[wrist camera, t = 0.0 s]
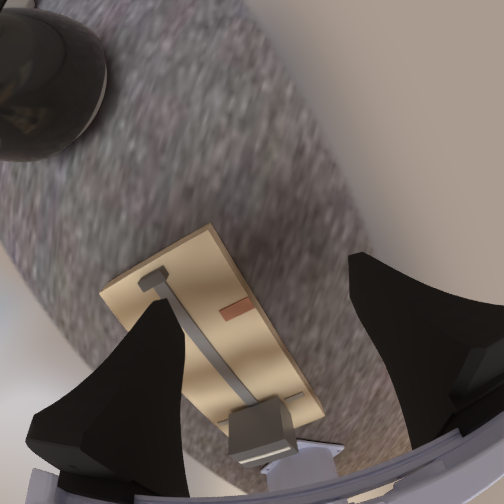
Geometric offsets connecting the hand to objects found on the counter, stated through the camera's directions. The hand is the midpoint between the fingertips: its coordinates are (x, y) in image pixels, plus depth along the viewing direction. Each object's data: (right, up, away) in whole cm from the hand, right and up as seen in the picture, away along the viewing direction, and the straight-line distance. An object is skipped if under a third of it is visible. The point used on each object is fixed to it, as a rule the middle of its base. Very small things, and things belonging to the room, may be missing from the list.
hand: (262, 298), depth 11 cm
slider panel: (-3, -7, +14) cm, 16 cm away
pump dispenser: (-14, +14, +6) cm, 21 cm away
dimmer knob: (0, -13, +13) cm, 19 cm away
